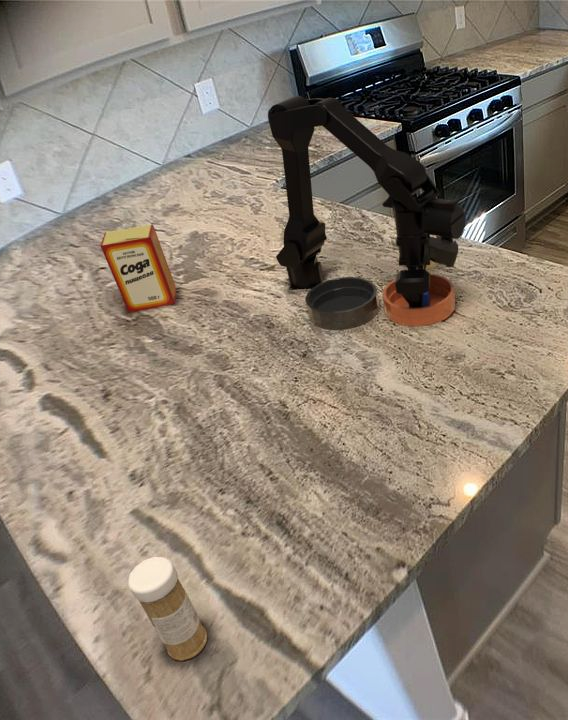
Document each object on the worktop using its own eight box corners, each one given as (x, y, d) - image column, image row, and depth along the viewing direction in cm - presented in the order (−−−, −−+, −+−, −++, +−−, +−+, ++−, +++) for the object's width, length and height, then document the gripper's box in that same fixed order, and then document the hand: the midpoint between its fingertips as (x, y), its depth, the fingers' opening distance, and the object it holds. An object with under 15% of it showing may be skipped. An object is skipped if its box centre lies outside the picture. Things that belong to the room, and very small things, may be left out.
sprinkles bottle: (172, 630, 79) (131, 559, 71) (211, 622, 79) (175, 551, 71) (164, 666, 75) (122, 595, 67) (206, 658, 76) (168, 587, 68)
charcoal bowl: (303, 334, 130) (298, 314, 127) (316, 297, 141) (312, 278, 139) (375, 330, 129) (372, 311, 126) (383, 293, 141) (380, 275, 138)
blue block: (409, 312, 133) (407, 295, 130) (410, 302, 136) (408, 285, 134) (429, 311, 133) (427, 294, 130) (430, 301, 136) (428, 284, 133)
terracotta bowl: (382, 330, 129) (379, 310, 126) (389, 293, 141) (386, 274, 138) (454, 327, 129) (453, 307, 126) (455, 290, 140) (454, 271, 137)
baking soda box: (128, 312, 141) (99, 243, 131) (131, 297, 146) (104, 230, 136) (174, 303, 142) (149, 235, 133) (176, 289, 148) (152, 222, 138)
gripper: (453, 250, 116) (459, 324, 126) (455, 207, 131) (459, 276, 141) (390, 253, 117) (400, 327, 126) (399, 210, 132) (407, 279, 141)
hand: (419, 301), depth 133 cm, fingers open, 9 cm apart
